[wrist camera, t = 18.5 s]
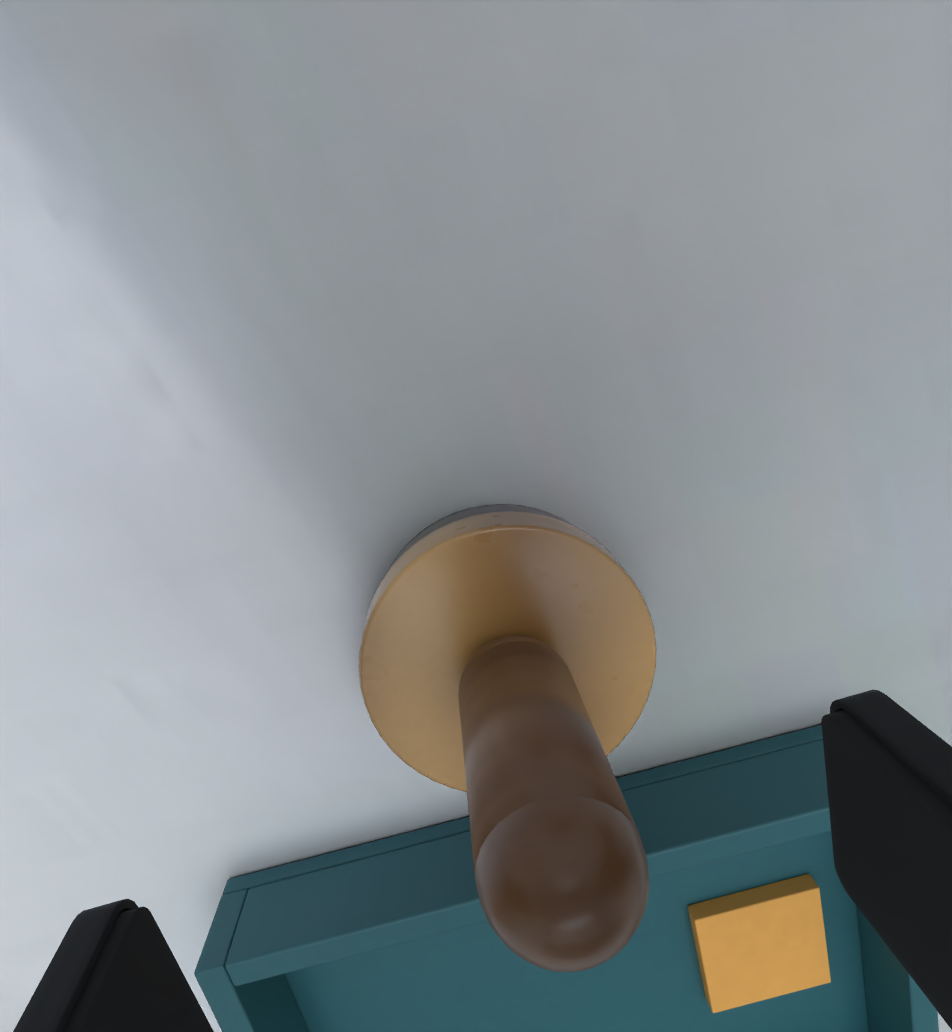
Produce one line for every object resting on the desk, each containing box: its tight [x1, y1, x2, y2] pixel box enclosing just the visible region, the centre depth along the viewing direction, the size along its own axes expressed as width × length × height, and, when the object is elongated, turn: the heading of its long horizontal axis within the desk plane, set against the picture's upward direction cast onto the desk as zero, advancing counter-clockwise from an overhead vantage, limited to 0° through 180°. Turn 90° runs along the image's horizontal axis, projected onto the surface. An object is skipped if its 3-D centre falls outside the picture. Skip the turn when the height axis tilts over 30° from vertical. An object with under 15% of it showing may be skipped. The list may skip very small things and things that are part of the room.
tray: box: [195, 725, 939, 1032], centre depth 21 cm, size 20×14×3 cm
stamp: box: [359, 504, 656, 972], centre depth 14 cm, size 7×7×10 cm
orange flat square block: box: [688, 874, 831, 1013], centre depth 21 cm, size 4×4×1 cm
